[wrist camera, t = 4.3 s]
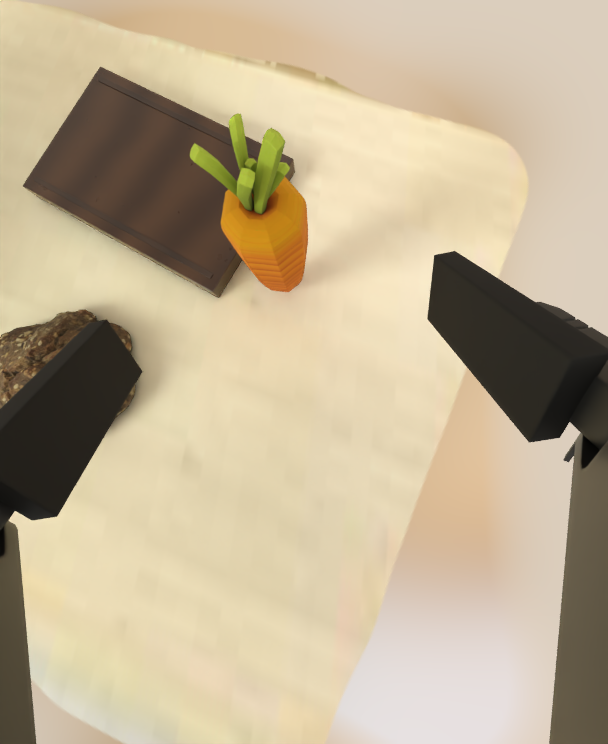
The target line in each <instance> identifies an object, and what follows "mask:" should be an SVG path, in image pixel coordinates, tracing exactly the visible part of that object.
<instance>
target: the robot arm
mask: <svg viewBox="0 0 608 744" xmlns="http://www.w3.org/2000/svg"><path fill="white" fill-rule="evenodd" d="M428 320H429V321H430V323H431V324H432V325H433V326H434V328H435V329H436V330H437V331H438V332H439V334H440V335H441V336H442V337H443V338H444V340H445V341H446V342H447V343H448V344H449V346H450V347H451V348H452V349H453V351H454V352H455V353H456V354H457V355H458V357H459V358H460V359H461V360H462V361H463V363H464V364H465V365H466V366H467V368H468V369H469V370H470V371H471V372H472V374H473V375H474V376H475V377H476V378H477V380H478V381H479V382H480V383H481V385H482V386H483V387H484V388H485V389H486V391H487V392H488V393H489V394H490V395H491V397H492V398H493V399H494V400H495V401H496V403H497V404H498V405H499V406H500V408H501V409H502V410H503V411H504V412H505V414H506V415H507V416H508V417H509V418H510V420H511V421H512V422H513V423H514V425H515V426H516V427H517V428H518V429H519V431H520V432H521V433H522V434H523V435H524V437H525V438H526V439H527V440H528V441H529V442H535V441H541V440H548V439H554V438H560V436H561V434H562V433H563V432H564V430H565V428H566V427H567V425H568V423H569V422H571V423H572V424H573V425H574V426H575V427H576V428H577V429H578V430H579V431H580V432H581V433H580V435H579V436H578V438H577V439H576V441H575V442H574V444H573V445H572V447H571V448H570V450H569V451H568V452H567V454H566V456H565V458H564V461H567V462H569V461H570V459H571V458H572V457H573V456H574V464H573V476H572V487H571V499H570V511H569V522H568V533H567V546H566V557H565V569H564V580H563V592H562V603H561V615H560V626H559V637H558V649H557V661H556V672H555V684H554V696H553V707H552V718H551V730H550V741H549V744H608V337H607V336H605V335H603V334H601V333H600V332H598V331H597V330H595V329H593V328H592V327H591V328H588V325H587V324H585V323H584V322H582V321H580V320H575V317H573V316H572V315H570V314H569V313H567V312H565V311H564V310H562V309H560V308H557V307H554V306H551V305H548V304H545V303H542V302H534V301H532V300H531V299H529V298H528V297H526V296H525V295H523V294H521V293H519V292H518V291H517V290H515V289H514V288H512V287H510V286H509V285H507V284H506V283H504V282H503V281H501V280H499V279H498V278H496V277H495V276H493V275H492V274H490V273H488V272H487V271H485V270H484V269H482V268H481V267H479V266H477V265H476V264H474V263H473V262H471V261H470V260H468V259H466V258H465V257H463V256H462V255H460V254H459V253H457V252H455V251H453V252H448V253H443V254H438V255H434V264H433V273H432V282H431V291H430V300H429V310H428ZM141 373H142V370H141V368H140V367H139V366H138V364H137V363H136V361H135V360H134V358H133V357H132V355H131V354H130V352H129V351H128V349H127V348H126V347H125V345H124V344H123V342H122V341H121V339H120V338H119V336H118V335H117V333H116V332H115V330H114V329H113V328H112V326H111V325H110V323H109V322H108V320H102V321H97V322H91V323H89V324H88V325H87V326H85V327H84V328H83V329H82V330H81V331H80V332H79V333H78V334H77V335H76V336H75V337H74V338H73V339H72V340H71V341H70V342H69V343H68V344H67V345H66V346H65V347H64V348H63V349H62V350H61V351H60V352H59V353H57V354H56V355H55V356H54V357H53V358H52V359H51V360H50V361H49V362H48V363H47V364H46V365H45V366H44V367H43V368H42V369H41V370H40V371H39V372H38V373H37V374H36V375H35V376H34V377H33V378H32V379H31V380H30V381H28V382H27V383H26V384H25V385H24V386H23V387H22V388H21V389H20V390H19V391H18V392H17V393H16V394H15V395H14V396H13V397H12V398H11V399H10V400H9V401H8V402H7V403H6V404H5V405H4V406H3V407H2V408H1V409H0V744H36V736H35V724H34V713H33V701H32V690H31V678H30V667H29V655H28V644H27V632H26V621H25V609H24V598H23V586H22V575H21V563H20V552H19V540H18V529H17V527H16V526H15V524H13V523H11V522H9V521H8V520H9V518H10V517H11V516H12V514H13V513H14V511H17V512H18V513H20V514H22V515H24V516H25V517H27V518H29V519H31V520H37V519H44V518H50V517H57V516H58V514H59V512H60V510H61V509H62V507H63V505H64V504H65V502H66V500H67V499H68V497H69V495H70V494H71V492H72V490H73V488H74V487H75V485H76V483H77V482H78V480H79V478H80V477H81V475H82V473H83V471H84V470H85V468H86V466H87V465H88V463H89V461H90V460H91V458H92V456H93V455H94V453H95V451H96V449H97V448H98V446H99V444H100V443H101V441H102V439H103V438H104V436H105V434H106V432H107V431H108V429H109V427H110V426H111V424H112V422H113V421H114V419H115V417H116V416H117V414H118V412H119V410H120V409H121V407H122V405H123V404H124V402H125V400H126V399H127V397H128V395H129V393H130V392H131V390H132V388H133V387H134V385H135V383H136V382H137V380H138V378H139V377H140V375H141Z"/></svg>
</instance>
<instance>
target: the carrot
mask: <svg viewBox="0 0 608 744" xmlns="http://www.w3.org/2000/svg"><path fill="white" fill-rule="evenodd" d="M229 128H230V134H231V139H232V144H233V147H234V151H235V155H236V159H237V162H238V166H239V169H240V175H239V178H238V181H236V180H235V178H234V177H233V176H232V175H231V174H230V173H229V172H228V171H227V170H226V168H225V167H224V166H223V165H222V164H221V163H220V162H219V161H218V160H217V159H216V158H215V157H213V156H212V155H211V154H210V153H208V152H207V151H206V150H205V149H203V148H202V147H200V146H198V145H197V144H195V143H194V145H193V146H192V148H191V151H190V158H191V159H192V160H193V161H194V162H195V163H196V164H197V165H199V166H200V167H201V168H203V169H204V170H206V171H207V172H209V173H210V174H211V175H212V176H214V177H215V178H216V179H217V180H218V181H219V182H221V183H222V184H223V185H224V186H225V187H226V188H228V189H229V190H227V191H226V192H225V198H224V204H223V211H222V217H221V228H222V230H223V232H224V234H225V235H226V237H227V238H228V240H229V241H230V243H231V244H232V246H233V247H234V249H235V250H236V252H237V253H238V254H239V256H240V257H241V258H242V260H243V261H244V262H245V264H246V265H247V266H248V267H249V269H250V270H251V271H252V272H253V274H254V275H255V276H256V277H257V279H258V280H259V281H260V282H261V283H262V284H264V285H265V286H266V287H267V288H269V289H270V290H274V291H282V292H289V291H290V290H292V289H293V288H294V287H295V286H297V285H298V284H299V283H300V282H301V280H302V277H303V273H304V268H305V260H306V253H307V245H308V224H307V208H306V202H305V200H304V198H303V197H302V195H301V194H300V193H299V192H298V191H297V190H296V189H295V187H294V186H293V185H292V184H291V183H290V182H289V181H288V179H287V178H286V177H285V176H286V174H287V173H288V171H289V169H290V167H289V166H288V164H287V163H283V162H280V160H281V156H282V152H283V148H284V144H285V140H284V139H283V137H282V136H281V134H280V133H279V132H278V131H276V130H274V129H272V128H271V129H268V130H267V131H266V133H265V135H264V137H263V141H262V145H261V149H260V153H259V158H258V163H257V162H256V161H255V160H254V159H253V158H249V157H248V152H247V146H246V140H245V134H244V128H243V122H242V118H241V114H236V115H234V116H233V117H232V118H231V119H230V120H229Z"/></svg>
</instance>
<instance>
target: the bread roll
mask: <svg viewBox="0 0 608 744" xmlns="http://www.w3.org/2000/svg"><path fill="white" fill-rule="evenodd" d="M91 322H97V320H96V316H94V315H93V314H92V313H91V312H88V311H87V310H78V311H76V312H66V313H59V314H57V316H56V317H55V318H54V319H53V320H52V321H50V322H47V323H46V324H42V325H40V324H36V325H32V326H25V327H20V328H16V329H14V330H12V331H10V332H8V333H5V334H2V335H1V337H0V409H1V408H2V407H3V406H4V405H5V404H6V403H7V402H8V401H9V400H10V399H11V398H12V397H13V396H14V395H15V394H16V393H17V392H18V391H19V390H20V389H21V388H22V387H23V386H24V385H25V384H26V383H27V382H28V381H30V380H31V379H32V378H33V377H34V376H35V375H36V374H37V373H38V372H39V371H40V370H41V369H42V368H43V367H44V366H45V365H46V364H47V363H48V362H49V361H50V360H51V359H52V358H53V357H54V356H55V355H56V354H57V353H59V352H60V351H61V350H62V349H63V348H64V347H65V346H66V345H67V344H68V343H69V342H70V341H71V340H72V339H73V338H74V337H75V336H76V335H77V334H78V333H79V332H80V331H81V330H82V329H83V328H84V327H85V326H87V325H88V324H89V323H91ZM110 325H111V326H112V328H113V329H114V330H115V332H116V333H117V335H118V336H119V338H120V339H121V341H122V342H123V344H124V345H125V347H126V348H127V349H128V351H129V352H130V351H131V348H132V343H131V338H130V334H129V333H128V332H127V331H125V330H124V329H123V328H122V327H120V326H118V325H116V324H112V323H110ZM134 392H135V385H134V387H133V388H132V390H131V392H130V393H129V395H128V397H127V399H126V400H125V402H124V404H123V405H122V407H121V409H120V410H119V412H118V414H117V416H118V415H119V414H120V413H122V412H123V411H124V410H125V409H126V408H127V407H128V406H129V404H130V402H131V400H132V398H133V397H134ZM117 416H116V417H117ZM116 417H115V418H116Z"/></svg>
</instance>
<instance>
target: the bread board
mask: <svg viewBox="0 0 608 744" xmlns="http://www.w3.org/2000/svg"><path fill="white" fill-rule="evenodd" d="M245 140H246V146H247V152H248V157H249V158H253V159H254V160H255V161H256V162H257V163H258V158H259V153H260V149H261V145H262V144H261V143H259V142H256V141H254V140H252V139H250V138H248V137H246V136H245ZM194 143H195V144H197V145H198V146H200V147H202V148H203V149H205V150H206V151H207V152H208V153H210V154H211V155H212V156H213V157H215V158H216V159H217V160H218V161H219V162H220V163H221V164H222V165H223V166H224V167H225V168H226V170H227V171H228V172H229V173H230V174H231V175H232V176H233V177H234V178H235V180H236V181H238V178H239V175H240V169H239V166H238V162H237V159H236V155H235V151H234V147H233V144H232V139H231V134H230V129H229V128H227V127H225V126H223V125H221V124H219V123H217V122H215V121H213V120H211V119H208V118H206V117H204V116H202V115H200V114H198V113H196V112H194V111H192V110H190V109H188V108H186V107H183V106H181V105H179V104H177V103H175V102H173V101H171V100H169V99H167V98H165V97H163V96H160V95H158V94H156V93H154V92H152V91H150V90H148V89H146V88H144V87H142V86H140V85H138V84H135V83H133V82H131V81H129V80H127V79H125V78H123V77H121V76H119V75H117V74H115V73H113V72H110V71H108V70H106V69H104V68H102V67H100V68H99V69H98V71H97V73H96V74H95V76H94V77H93V79H92V80H91V82H90V83H89V85H88V86H87V88H86V89H85V91H84V92H83V94H82V96H81V97H80V99H79V100H78V102H77V103H76V105H75V106H74V108H73V109H72V111H71V112H70V114H69V115H68V117H67V119H66V120H65V122H64V123H63V125H62V126H61V128H60V129H59V131H58V132H57V134H56V135H55V137H54V139H53V140H52V142H51V143H50V145H49V146H48V148H47V149H46V151H45V152H44V154H43V155H42V157H41V158H40V160H39V162H38V163H37V165H36V166H35V168H34V169H33V171H32V172H31V174H30V175H29V177H28V178H27V180H26V181H25V183H24V185H23V187H25V188H26V189H27V190H29V191H30V192H32V193H33V194H35V195H36V196H37V197H39V198H41V199H43V200H45V201H46V202H48V203H50V204H52V205H53V206H55V207H57V208H59V209H61V210H62V211H64V212H66V213H68V214H70V215H71V216H73V217H75V218H77V219H78V220H80V221H82V222H84V223H86V224H87V225H89V226H91V227H93V228H95V229H96V230H98V231H100V232H102V233H103V234H105V235H107V236H109V237H111V238H112V239H114V240H116V241H118V242H120V243H121V244H123V245H125V246H127V247H128V248H130V249H132V250H134V251H136V252H137V253H139V254H141V255H143V256H145V257H146V258H148V259H150V260H152V261H153V262H155V263H157V264H159V265H161V266H162V267H164V268H166V269H168V270H170V271H171V272H173V273H175V274H177V275H178V276H180V277H182V278H184V279H186V280H187V281H189V282H191V283H193V284H195V285H196V286H198V287H200V288H202V289H203V290H205V291H207V292H209V293H211V294H212V295H214V296H216V297H218V298H219V297H220V295H221V293H222V292H223V290H224V288H225V287H226V285H227V283H228V282H229V280H230V279H231V277H232V275H233V274H234V272H235V270H236V269H237V267H238V265H239V264H240V262H241V260H242V258H241V257H240V256H239V254H238V253H237V252H236V250H235V249H234V247H233V246H232V244H231V243H230V241H229V240H228V238H227V237H226V235H225V234H224V232H223V230H222V228H221V217H222V211H223V204H224V198H225V192H226V191H227V190H229V189H228V188H226V187H225V186H224V185H223V184H222V183H221V182H219V181H218V180H217V179H216V178H215V177H214V176H212V175H211V174H210V173H209V172H207V171H206V170H204V169H203V168H201V167H200V166H199V165H197V164H196V163H195V162H194V161H193V160H192V159H191V158H190V151H191V148H192V146H193V145H194ZM280 162H283V163H287V164H288V166H289V167H290V169H289V171H288V173H287V174H286V176H285V177H286V178H287V179H288V181H290V179H291V177H292V176H293V174H294V172H295V170H294V162H293V159H292V158H290V157H288V156H286V155H284V154H282V156H281V160H280Z"/></svg>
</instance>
